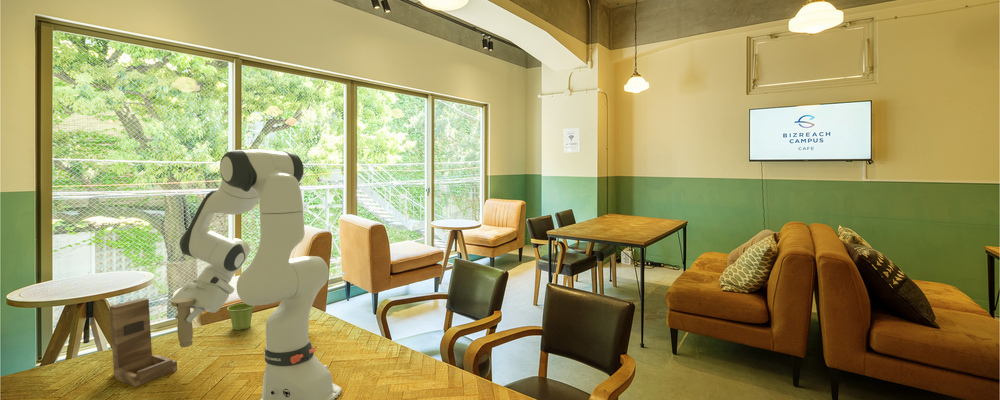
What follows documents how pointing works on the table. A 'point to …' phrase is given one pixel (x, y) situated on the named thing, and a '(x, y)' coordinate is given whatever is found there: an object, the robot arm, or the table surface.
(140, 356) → the wooden frame stand
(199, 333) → the table surface
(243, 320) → the plant pot
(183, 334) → the handle
